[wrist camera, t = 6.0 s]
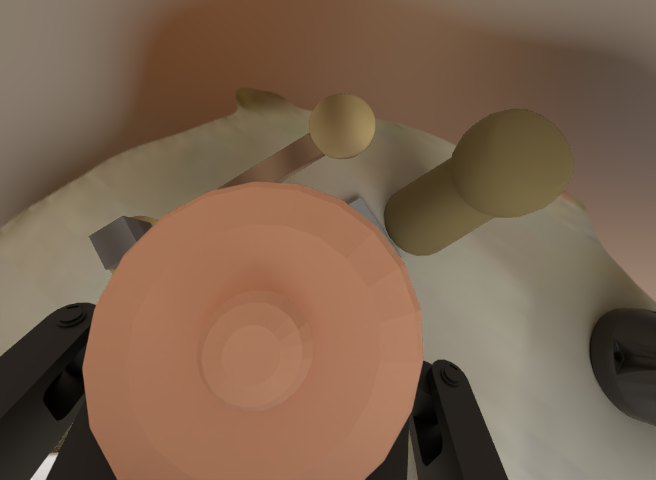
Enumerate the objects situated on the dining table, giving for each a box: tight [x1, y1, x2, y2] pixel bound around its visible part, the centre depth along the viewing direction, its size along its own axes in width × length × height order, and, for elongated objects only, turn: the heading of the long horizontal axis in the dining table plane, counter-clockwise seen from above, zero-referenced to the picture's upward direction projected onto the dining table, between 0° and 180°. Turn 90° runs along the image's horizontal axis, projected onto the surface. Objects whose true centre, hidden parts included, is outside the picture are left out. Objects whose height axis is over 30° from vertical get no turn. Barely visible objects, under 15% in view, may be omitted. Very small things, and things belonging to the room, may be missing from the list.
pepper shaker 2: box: [384, 109, 573, 256], centre depth 29 cm, size 10×10×19 cm
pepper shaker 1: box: [82, 181, 424, 480], centre depth 13 cm, size 7×7×19 cm
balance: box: [89, 94, 375, 274], centre depth 27 cm, size 27×6×15 cm, turn 122°
